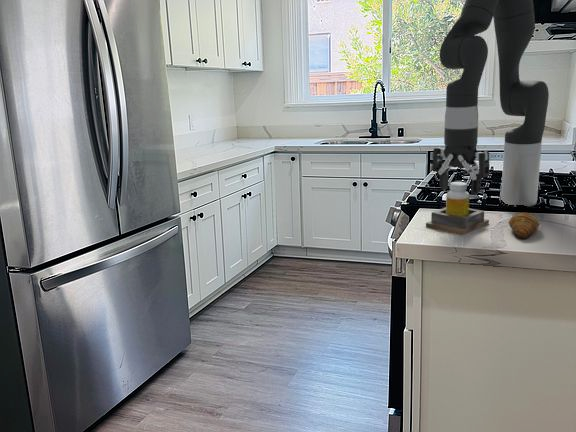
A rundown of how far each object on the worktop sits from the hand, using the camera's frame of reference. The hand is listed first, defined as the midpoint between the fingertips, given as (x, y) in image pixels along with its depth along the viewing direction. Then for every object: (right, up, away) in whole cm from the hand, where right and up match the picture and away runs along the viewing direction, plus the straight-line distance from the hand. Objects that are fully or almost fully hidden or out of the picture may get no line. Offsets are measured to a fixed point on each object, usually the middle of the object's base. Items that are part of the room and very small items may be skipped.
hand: (459, 191), depth 127 cm
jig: (0, -8, +2) cm, 9 cm away
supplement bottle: (0, -7, +2) cm, 8 cm away
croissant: (+14, -10, -4) cm, 18 cm away
